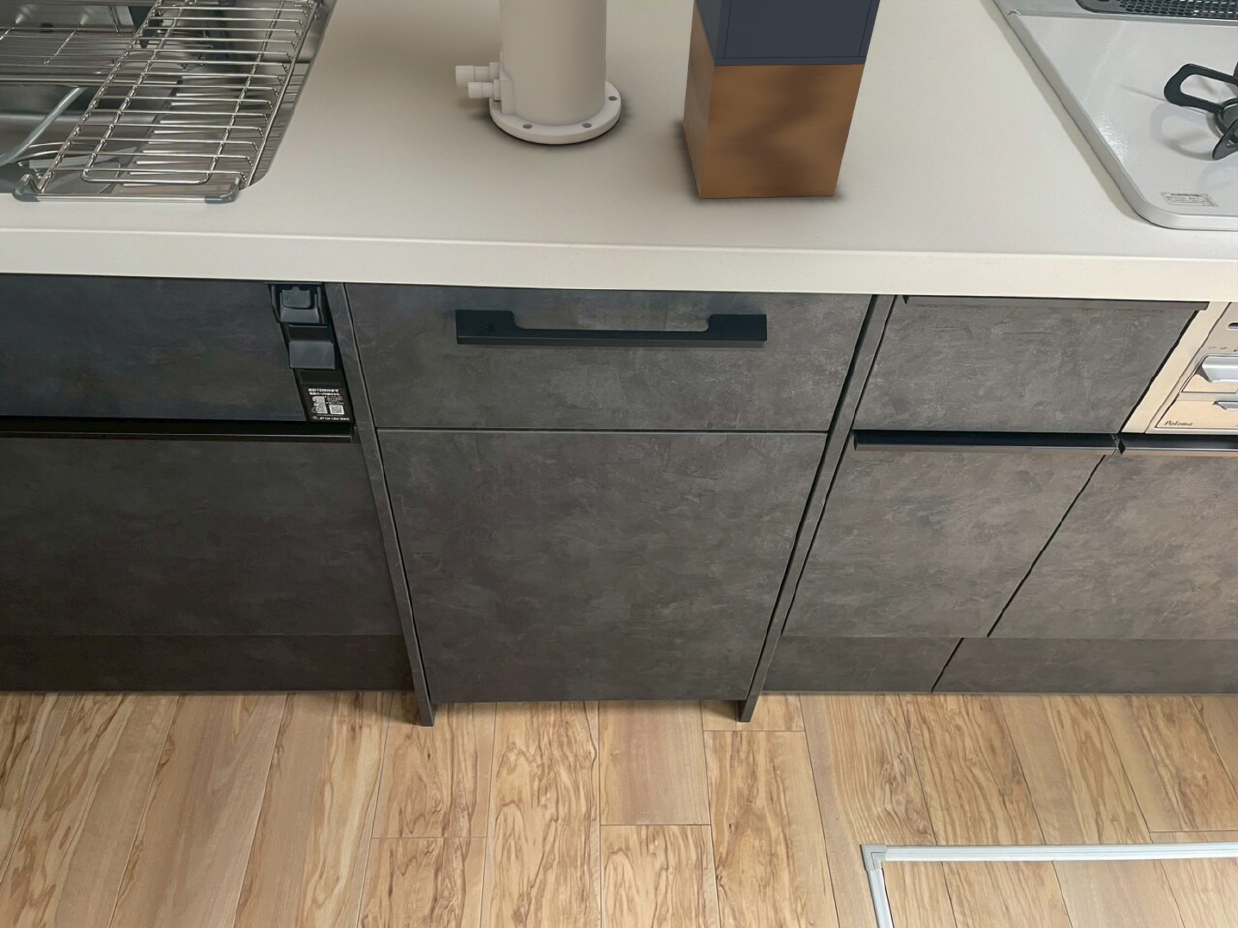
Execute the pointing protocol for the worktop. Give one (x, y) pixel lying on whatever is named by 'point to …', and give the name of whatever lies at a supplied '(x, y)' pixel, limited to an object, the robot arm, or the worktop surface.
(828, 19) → the slate grey square cap
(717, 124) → the stand
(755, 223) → the worktop surface
